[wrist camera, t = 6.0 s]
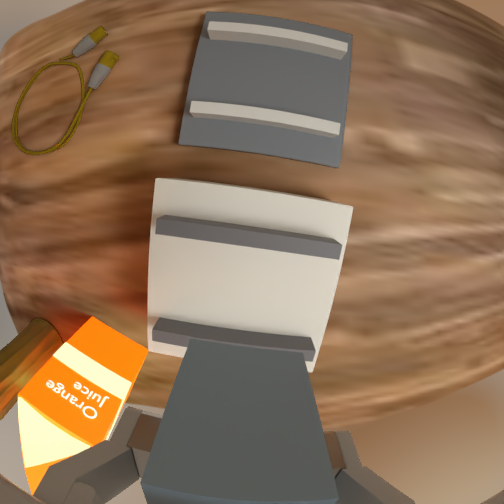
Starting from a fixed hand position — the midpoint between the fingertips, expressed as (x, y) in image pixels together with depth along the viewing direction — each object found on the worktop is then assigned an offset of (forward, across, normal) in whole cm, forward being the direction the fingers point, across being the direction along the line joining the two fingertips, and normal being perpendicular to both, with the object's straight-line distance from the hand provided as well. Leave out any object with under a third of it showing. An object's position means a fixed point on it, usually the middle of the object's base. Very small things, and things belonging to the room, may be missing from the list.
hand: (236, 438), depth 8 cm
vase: (+20, +24, +14) cm, 34 cm away
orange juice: (+20, +14, +14) cm, 28 cm away
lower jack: (+20, 0, -17) cm, 26 cm away
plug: (+3, 0, 0) cm, 3 cm away
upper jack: (+20, 0, 0) cm, 20 cm away
